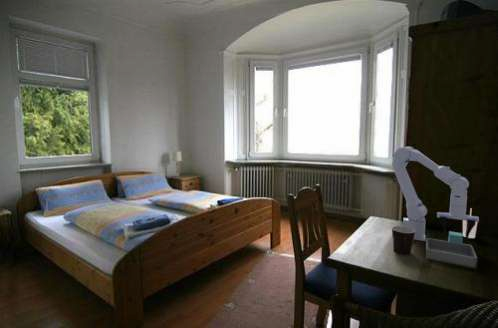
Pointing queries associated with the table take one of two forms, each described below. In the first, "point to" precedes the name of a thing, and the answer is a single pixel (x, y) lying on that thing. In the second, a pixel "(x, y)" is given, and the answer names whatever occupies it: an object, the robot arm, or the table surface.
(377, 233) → the table surface
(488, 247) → the table surface
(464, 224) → the beverage cup
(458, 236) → the teal block
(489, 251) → the table surface
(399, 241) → the coffee mug
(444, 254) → the gray tray
